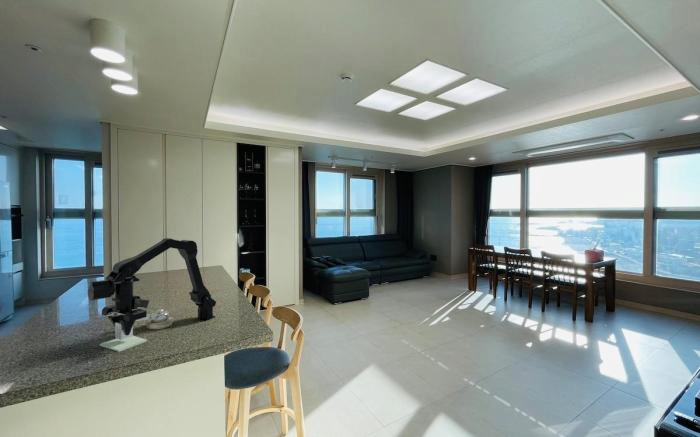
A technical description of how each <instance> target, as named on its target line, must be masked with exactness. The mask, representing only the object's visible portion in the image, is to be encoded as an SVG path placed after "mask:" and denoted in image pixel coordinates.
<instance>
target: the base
mask: <svg viewBox="0 0 700 437" xmlns="http://www.w3.org/2000/svg"><path fill="white" fill-rule="evenodd" d="M173 322H174V318H173V317H171V316H169V319H168V320H166V321H164V322H158V323H153V322H151V319H149V320H147V321H146V329H148V330H161V329H164V328H168V327H170V326H172V325H174V324H173Z"/></svg>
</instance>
